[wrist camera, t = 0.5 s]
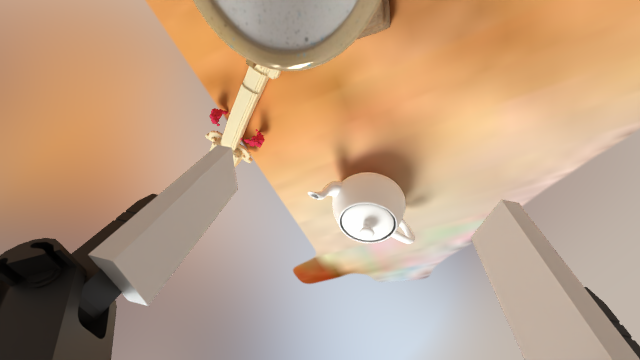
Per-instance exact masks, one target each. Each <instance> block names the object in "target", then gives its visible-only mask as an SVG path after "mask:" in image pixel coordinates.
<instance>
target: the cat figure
mask: <svg viewBox="0 0 640 360" xmlns="http://www.w3.org/2000/svg"><path fill="white" fill-rule="evenodd" d="M246 62H247V63H246V64H247V65H249V68H248V71H247V74H246V76H245V79H244V81H243V84H242V85H241V87H240V90H239V92H238V95H237V97H236V100H235V103H234V105H233V108H232V110H231V113H230V116H229V118H228V121H227V123H226V128H225V130H224V133H223V134H221V133H220V132H218V131H217V132H215V131H211V132H210V133H208V134H207V135H206V138H207V139H209V140H211V141H212V142H213V143H212V146H211V149H210V151H211V150H212V149H213V148H214V147H216V146H217V145H221V146H226V147H231V148H232V153H233V160H234V166H235V167H236V166H237V165H238V164H239V163H240V161H241V160H242V159H243V160H245V161H246V162H248V163H251V162H252V160H253V159H251V157H250V156H251V154H250V152H249V151H248V149H246V148H245V147H244V146H242V145H241V144H240V142H241V140H243V138H242V137H243V134H244V132H245V130H246V128H247V126H248V125H247V124H248V122H249V120H250V118H251V116H252V113H253V111H254V109H255V107H256V104H257V102H258V100H259V98H260V97H261V94H262V92H263V90H264V88H265V85H266V83H267V81H268V80H269V78H271V79H275V78H278V77H279V75H280V73H281V71H280V70H273V69H269V68H266V67H263V66H260V65H257V64H255V63H254V62H252V61H250V60H248V59H246ZM227 113H228V111H223V110H221V109H220V110H218V109H212V111H211V114H210V118H211V121H212V123H213V124H217V123H218V122H219V119H220V117H221V116H222V114H225V115H226V114H227ZM219 125H220V124H217V126H219ZM256 131H258V130H257V129H256ZM216 137H217V138H216ZM218 137H219V138H218ZM264 140H265V139H264V138H263V135H262V134H261V133H260V131H259V132H258V133H257V136H253V137H252V140H250V139H249V138H248V139H245V140H244V141H245V142H246V143H249V144H250V146H253V147H254V145H256V146H257V147H261V145H262V143H263V142H264ZM210 151H209V152H210ZM244 154H245V155H244Z"/></svg>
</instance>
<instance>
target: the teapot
mask: <svg viewBox="0 0 640 360" xmlns="http://www.w3.org/2000/svg"><path fill="white" fill-rule="evenodd" d="M308 195H309V196H310V197H312V198H314V199H323V198H325V197H326V196H327V195H330V196H333V198H332V207H333V212H334V216H335V218H336V221H337V223H338V225H339V227H340V229H341V230H342V232H343V233H344V234H345V235H347V236H348V237H349V238H351V239H353V240H356V241H359V242H363V243H378V242H382V241H384V240H386V239H388V238H390V237H391V236H392V237H393V238H395V239H397V240H399V241H401V242H404V243H407V244H410V243H413V242H414V240H415V237H414V234H413V232H412V230H411V228H410V227H409V226H408V224H407V223H406V222H405V221H404V220H403V216H404V213H405V208H406V201H405V196H404V193H403V191H402V190H401V188H400V187H399V186H398V185H397V183H396V182H394V181H393V180H391V179H390V178H388V177H386V176H384V175H381V174H378V173H371V172H364V173H358V174H354V175H351V176H349V177H347V178H346V179H344V180H343V181H342V182H340V181H333V182H330V183H329V184H327V185H326V186H325V187H324V188H323V189H322V190H321V191H319V192H308ZM399 226H400V227H401V228H402V230H403V231H404V233H405V235H406V236H405V235H403V234H401V233H399V232H397V231H396V230H397V228H398V227H399Z"/></svg>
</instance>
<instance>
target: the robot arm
mask: <svg viewBox="0 0 640 360" xmlns="http://www.w3.org/2000/svg"><path fill="white" fill-rule="evenodd" d="M237 190H238V186H237V180H236V173H235V166H234V160H233V153H232V148H231V147H226V146H221V145H217V146H216V147H214V148H213V149H212V150H211V151H210V152H209V153H208V154H206V155H205V156H204V157H203V158H202V159H200V160H199V161H198V162H197V163H196V164H194V165H193V166H192V167H191V168H190V169H189V170H187V171H186V172H185V173H184V174H183V175H182V176H180V177H179V178H178V179H177V180H176V181H174V182H173V183H172V184H171V185H170V186H169V187H167V188H166V189H165V190H164V191H163V192H161V193H160V194H159V195H156V194H151V195H149V196H147V197H145V198H143V199H141V200H139V201H137V202H136V203H135V204H134V205H132V206H131V207H130V208H129V209H127V210H126V212H123V213H122V214H121V215H120V216H118V217H117V218H116V220H115V221H112V222H111V223H110V224H108V225H107V226H106V227H105V228H103V229H102V230H101V231H100V232H98V233H97V234H96V235H95V236H93V237H92V238H91V239H90V240H88V241H87V242H86V243H85V244H83V245H82V246H81V247H80V248H78V249H77V250H76V251H74V252H73V253H72V254H70V253H69V252H68V251H67V250H66V249H65V248H64V247H63V246H62V245H61V244H60V243H59V242H58V241H57V240H56V239H49V238H43V239H36V240H32V241H29V242H26V243H23V244H20V245H18V246H16V247H14V248H12V249H10V250H8V251H6V252H4V253H3V254H2V255H1V256H0V360H111V354H112V345H113V335H114V326H115V317H116V308H117V306H116V301H115V299H116V298H117V297H118V296H119V295H120V294H121V293H122V294H123V295H124V296H125V297H126V298H127V300H128V301H131V302H135V303H139V304H143V305H147V306H149V304H150V303H151V302H152V301H153V299H154V298H155V297H156V295H157V294H158V293H159V291H160V290H161V289H162V288H163V286H164V285H165V284H166V282H167V281H168V280H169V278H170V277H171V276H172V274H173V273H174V272H175V271H176V269H177V268H178V267H179V265H180V264H181V263H182V261H183V260H184V259H185V258H186V256H187V255H188V254H189V252H190V251H191V250H192V248H193V247H194V246H195V244H196V243H197V242H198V241H199V239H200V238H201V237H202V235H203V234H204V233H205V231H206V230H207V229H208V227H209V226H210V225H211V223H212V222H213V221H214V220H215V218H216V217H217V216H218V214H219V213H220V212H221V211H222V209H223V208H224V207H225V205H226V204H227V203H228V201H229V200H230V199H231V197H232V196H233V195H234V193H235V192H236V191H237ZM471 239H472V242H473V244H474V246H475V248H476V251H477V253H478V255H479V257H480V260H481V262H482V264H483V267H484V269H485V271H486V274H487V276H488V278H489V280H490V283H491V285H492V287H493V289H494V292H495V294H496V296H497V298H498V301H499V303H500V305H501V307H502V310H503V312H504V314H505V317H506V319H507V321H508V324H509V326H510V328H511V330H512V332H513V335H514V337H515V339H516V342H517V344H518V346H519V349H520V351H521V353H522V355H523V358H524V360H640V346H639V345H638V344H637V343H636V341H634V340H632V339H631V335H630V334H629V333H628V332H627V330H626V329H625V328H624V326H623V325H620V324H619V320H618V319H617V318H616V316H615V315H614V314H613V313H612V312H611V310H610V309H609V308H608V306H607V305H606V304H605V303H604V302H603V301H602V300H601V299H599V298H598V297H597V296H596V295H595V294H594V293H593V292H591V291H590V290H589V289H588V288H587V287H583V285H582V284H581V283H580V282H579V280H578V279H577V278H576V276H575V275H574V274H573V273H572V271H571V270H570V268H569V267H568V266H567V265H566V263H565V262H564V261H563V260H562V258H561V257H560V256H559V255H558V253H557V252H556V250H555V249H554V248H553V247H552V245H551V244H550V243H549V241H548V240H547V239H546V238H545V236H544V235H543V234H542V232H541V231H540V230H539V229H538V227H537V226H536V225H535V223H534V222H533V221H532V219H531V218H530V217H529V216H528V214H527V213H526V212H525V211H524V209H523V208H522V206H521V205H520V204H519V203H516V202H511V201H506V200H501V201H500V202H499V203H498V204H497V206H496V207H495V208H494V209H493V211H492V212H491V213H490V214H489V216H488V217H487V218H486V219H485V221H484V222H483V223H482V224H481V226H480V227H479V228H478V229H477V231H476V232H475V233H474V234H473V235H472V237H471Z"/></svg>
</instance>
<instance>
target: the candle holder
mask: <svg viewBox="0 0 640 360" xmlns="http://www.w3.org/2000/svg"><path fill="white" fill-rule="evenodd" d="M193 1H194V3H195V5H196V7H197V8H198V10H199V11H200V13H201V14H202V16H203V17H204V19H205V20H206V22H207V23H208V24H209V26H210V27H211V28H212V29H213V30H214V32H215V33H216V34H217V35H218V36H219V37H220V38H221V39H222V40H223V41H224V42H225V43H226V44H227V45H228V46H229V47H230V48H231V49H233V50H234V51H236V52H237V53H238V54H240V55H241V56H243V57H244V58H246V59H248V60H250V61H252V62H254V63H255V64H257V65H260V66H263V67H266V68H269V69H273V70H280V71H301V70H305V69H310V68H314V67H317V66H319V65H322V64H324V63H326V62H328V61H330V60H331V59H333V58H335V57H336V56H338V55H339V54H341V53H342V52H343V51H344V50H345V49H347V48H348V47H349V46H350V45H351V44H352V43H353V42H354V41H355V40H356V39H359V38H362V37H365V36H368V35H371V34H374V33H377V32H379V31H382V30H385V29H387V28H389V27H390V23H391V22H390V7H389V0H193Z"/></svg>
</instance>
